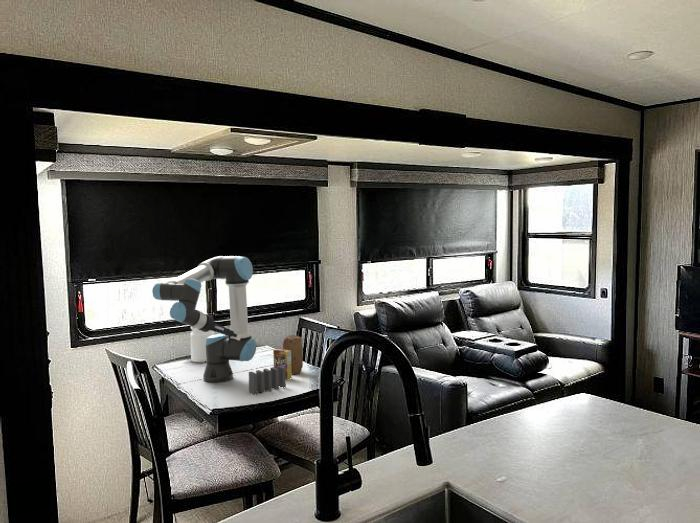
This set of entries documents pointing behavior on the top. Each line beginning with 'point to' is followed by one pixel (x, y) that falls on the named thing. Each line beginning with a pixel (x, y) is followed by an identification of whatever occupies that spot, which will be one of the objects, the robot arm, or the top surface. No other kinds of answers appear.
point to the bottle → (199, 344)
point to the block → (294, 352)
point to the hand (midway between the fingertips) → (239, 337)
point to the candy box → (283, 360)
